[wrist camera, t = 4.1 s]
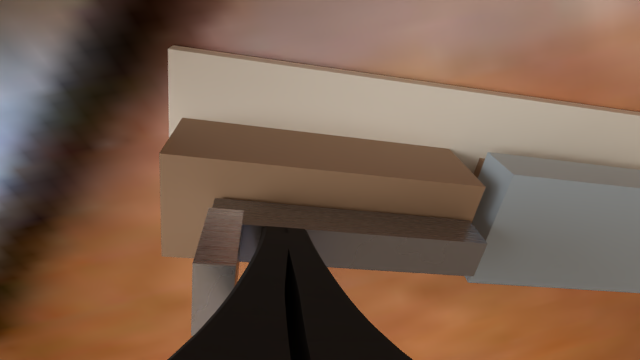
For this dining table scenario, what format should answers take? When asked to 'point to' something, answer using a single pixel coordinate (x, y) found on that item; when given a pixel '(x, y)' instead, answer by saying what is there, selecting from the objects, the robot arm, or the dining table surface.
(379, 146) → the latch box
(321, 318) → the robot arm
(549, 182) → the cover
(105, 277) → the dining table surface
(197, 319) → the bolt
